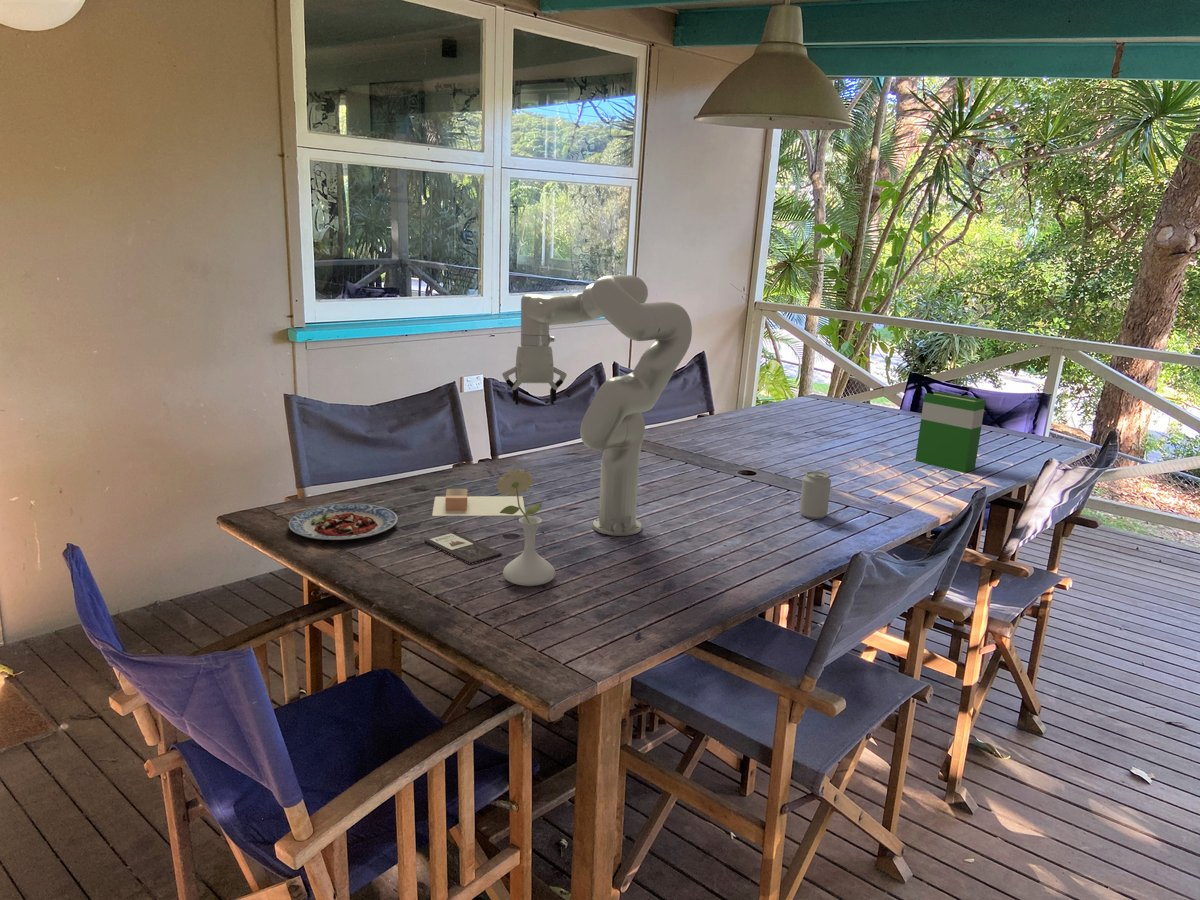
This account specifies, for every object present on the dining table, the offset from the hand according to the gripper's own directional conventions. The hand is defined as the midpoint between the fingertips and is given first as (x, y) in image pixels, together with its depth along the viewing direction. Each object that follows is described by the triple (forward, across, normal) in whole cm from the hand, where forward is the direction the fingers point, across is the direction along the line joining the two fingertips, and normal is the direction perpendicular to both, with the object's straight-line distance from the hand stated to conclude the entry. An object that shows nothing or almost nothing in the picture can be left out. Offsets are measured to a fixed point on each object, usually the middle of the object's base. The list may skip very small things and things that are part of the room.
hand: (534, 403), depth 234 cm
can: (+28, -75, +18) cm, 82 cm away
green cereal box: (+28, -144, -31) cm, 150 cm away
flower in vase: (+28, +7, +56) cm, 63 cm away
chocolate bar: (+28, +20, +37) cm, 50 cm away
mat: (+27, +15, +8) cm, 32 cm away
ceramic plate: (+27, +49, +21) cm, 60 cm away
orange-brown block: (+26, +21, +8) cm, 34 cm away
